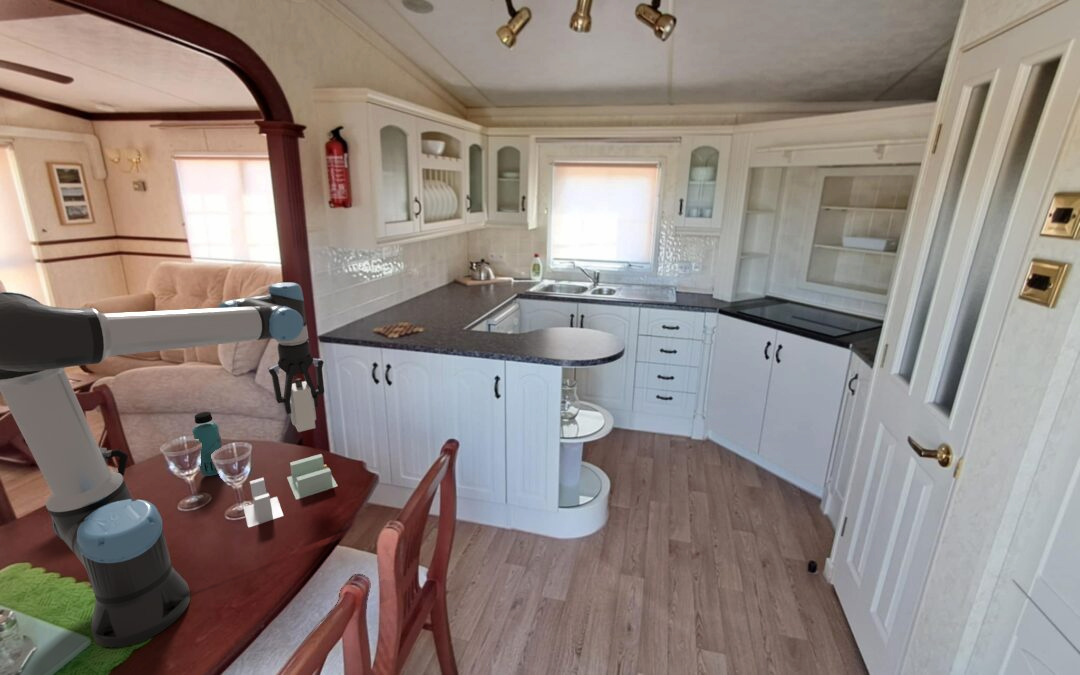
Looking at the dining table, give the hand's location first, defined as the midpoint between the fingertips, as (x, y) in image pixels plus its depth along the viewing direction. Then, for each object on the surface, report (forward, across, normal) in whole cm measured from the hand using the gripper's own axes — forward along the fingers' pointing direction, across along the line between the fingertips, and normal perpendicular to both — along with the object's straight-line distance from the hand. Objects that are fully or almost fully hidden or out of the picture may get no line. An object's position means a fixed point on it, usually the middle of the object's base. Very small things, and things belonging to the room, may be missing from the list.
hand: (303, 420), depth 132 cm
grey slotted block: (+21, +14, +7) cm, 26 cm away
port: (+21, 0, 0) cm, 21 cm away
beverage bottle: (+21, +23, -22) cm, 38 cm away
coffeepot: (+21, +48, -22) cm, 56 cm away
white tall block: (+2, 0, 0) cm, 2 cm away
